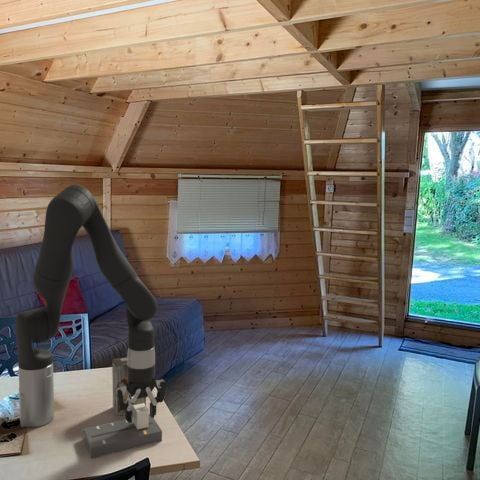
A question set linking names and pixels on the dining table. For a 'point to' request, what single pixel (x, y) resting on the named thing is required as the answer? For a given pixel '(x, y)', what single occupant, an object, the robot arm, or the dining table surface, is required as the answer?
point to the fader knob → (140, 416)
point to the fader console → (120, 437)
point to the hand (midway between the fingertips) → (140, 418)
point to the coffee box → (121, 383)
